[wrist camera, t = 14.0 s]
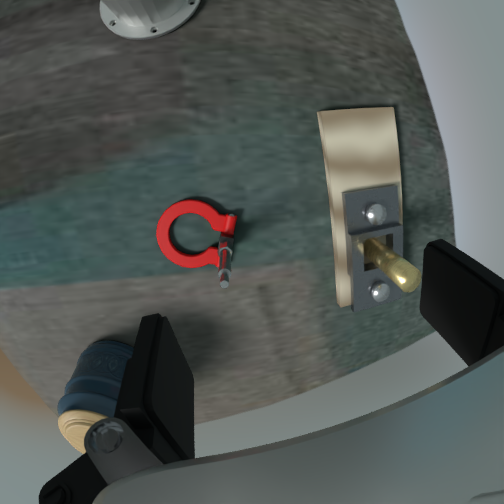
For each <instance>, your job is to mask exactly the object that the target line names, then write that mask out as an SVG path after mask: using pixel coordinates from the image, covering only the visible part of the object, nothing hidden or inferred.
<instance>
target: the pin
mask: <svg viewBox="0 0 504 504" xmlns="http://www.w3.org/2000/svg"><path fill="white" fill-rule="evenodd" d="M363 248H364V255H365V256H366V257H367V258H368V259H369V260H370V261H372V262H373V263H374V264H375V265H376V266H377V267H378V268H379V269H380V270H381V271H383V272H384V273H385V274H386V275H387V276H388V277H389V278H390V279H391V280H392V281H393V282H394V283H395V284H397V285H398V286H399V287H400V288H401V289H402V290H403V291H404V292H411V291H413V290H415V289H416V288H417V287H418V285H419V284H420V282H421V272H420V271H419V270H418V269H417V268H415V267H414V266H413V265H412V264H410V263H409V262H408V261H406V260H405V259H404V258H402V257H401V256H400V255H398V254H397V253H396V252H395V251H393V250H392V249H391V248H389V247H388V246H386V245H385V244H384V243H382V242H381V241H380V240H378V239H377V238H374V237H373V238H369V239H367V240H366V241H365V242H364V244H363Z"/></svg>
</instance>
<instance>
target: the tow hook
mask: <svg viewBox="0 0 504 504" xmlns="http://www.w3.org/2000/svg"><path fill="white" fill-rule="evenodd" d="M184 213H196V214H199V215H201V216H203V217H204V218H206V219H207V220H208V222H209V223H210V224H211V227H212V229H213V230H216V231H221V234H220V239H219V244H218V248H217V247H212V246H211V247H208V249H207V250H205V251H204V252H202V253H199V254H195V255H189V254H185V253H182V252H180V251H179V250H178V249H176V248H175V246H174V245H173V244H172V242H171V239H170V234H169V231H170V226H171V224H172V222H173V221H174V219H175V218H177V217H178V216H179V215H182V214H184ZM236 220H237V216H236V215H234V214H226V215H224V214H219V213H218V211H217V210H216V209H215V208H213V207H212V206H211V205H209V204H207V203H205V202H203V201H200V200H193V199H189V200H182V201H179V202H177V203H174V204H173V205H171V206H170V207H169V208H168V209H166V211H165V212H164V213H163V215H162V216H161V217H160V220H159V223H158V225H157V234H156V235H157V240H158V244H159V246H160V249H161V251H162V252H163V253H164V255H165V256H166V257H167V258H168V259H169V260H171V261H172V262H173V263H175V264H177V265H180V266H182V267H188V268H196V267H202V266H204V265H207V264H215V265H216V266H217V267H219V271H218V276H219V278H220V286H221V288H224V289H225V288H227V287H228V286H229V279H230V277H231V256H232V252H233V242H234V234H233V233H234V229H235V224H236Z"/></svg>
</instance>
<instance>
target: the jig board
mask: <svg viewBox="0 0 504 504" xmlns="http://www.w3.org/2000/svg"><path fill="white" fill-rule="evenodd" d="M317 115H318V121H319V128H320V134H321V141H322V148H323V155H324V162H325V170H326V178H327V186H328V195H329V204H330V214H331V224H332V235H333V247H334V260H335V274H336V291H337V303H338V304H339V306H340V307H344V306H347V305H351V283H350V276H349V275H348V274H347V256H346V240H345V226H344V214H343V203H342V193H341V192H347V191H353V190H359V189H366V188H372V187H379V186H385V185H392V184H395V185H398V201H399V223H400V224H402V225H403V216H402V189H401V172H400V160H399V149H398V139H397V130H396V122H395V114H394V107H380V108H358V109H343V110H330V111H320V112H317ZM374 238H377V239H378V240H380V241H381V242H382V243H384V244H385V245H386V235H383V236H378V237H374ZM366 240H367V239H364V240H363V244H364V242H365V241H366ZM371 262H372V261H370V260H369V259H368V258H367V257H366V256H365V255H364V264H367V263H371Z"/></svg>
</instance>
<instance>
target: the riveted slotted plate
mask: <svg viewBox="0 0 504 504" xmlns="http://www.w3.org/2000/svg"><path fill="white" fill-rule="evenodd" d="M341 193H342V203H343V214H344V226H345V240H346V256H347V274H348V275H349V276H350V283H351V309H352V311H353V312H357V311H361V310H364V309H368V308H371V307H375V306H378V305H382V304H385V303H388V302H392V301H395V300H398V299H401V291H402V289H401V288H400V287H399V286H398V285H397V284H395V283H394V282H393V281H392V280H391V279H390V278H389V277H388V276H387V275H386V274H385V273H384V272H383V271H381V270H380V269H379V268H378V267H377V266H376V265H375V264H374V263H373V262H371V263H367V264H364V248H363V240H364V239H369V238H373V237H378V236H383V235H386V246H388V247H389V248H391V249H392V250H393V251H395V252H396V253H397V254H398V255H400V256H401V257H402V258H403V225H402V224H400V223H399V201H398V185H395V184H392V185H385V186H379V187H372V188H366V189H359V190H353V191H347V192H341Z"/></svg>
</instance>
